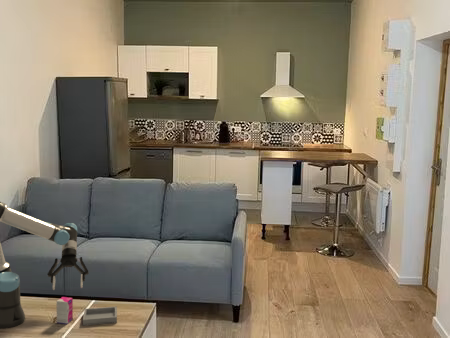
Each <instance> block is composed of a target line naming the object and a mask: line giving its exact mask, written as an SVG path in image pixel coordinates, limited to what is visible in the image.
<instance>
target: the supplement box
mask: <svg viewBox="0 0 450 338" xmlns="http://www.w3.org/2000/svg"><path fill="white" fill-rule="evenodd" d="M73 299H74V298H73V297H67V296H61V298H59V299H57V300H56V324H59V325H68V324H70V322H71V321H73V319H74V318H73V315H74V313H73V312H74V311H73V309H74V308H73V304H74V302H73Z"/></svg>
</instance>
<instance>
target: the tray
mask: <svg viewBox="0 0 450 338" xmlns="http://www.w3.org/2000/svg"><path fill="white" fill-rule="evenodd" d="M83 311H84V312H83V315H82V316H83V317H82V326H85V327H86V326H94V325H95V326H96V325H109V324H117V323H118V305H117V306H105V307H91V308H89V307H88V308H84V310H83Z"/></svg>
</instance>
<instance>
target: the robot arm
mask: <svg viewBox="0 0 450 338" xmlns="http://www.w3.org/2000/svg"><path fill="white" fill-rule="evenodd" d="M0 223H3V224H5V225H7V226H11V227H14V228H17V229H19V230H21V231H24V232H27V233H30V234H32V235H35V236H38V237H40V238H43V239H46V240H48V241H50V242H52V243H53V242H54V243H55V244H57V245H59V246H61V258H60V259H58V258H56V257H55V259H54V263H53V264H52V266H51V267H50V269H49V271H48V272H47V277H48V278H50V283H51V284H52V290H53V291H55V289H56V275H58V273H60V272H61V271H62V270H63V269H64V268H73V267H74V268H75V269H76V270H77V271H78V273H79V274H80V289H83V285H84V284H83V283H84V282H85V281H86V276H87V275H90V274H89V270H88V268H87V266H86V264H85V263H84V261H83V257H82V256H79V257H77V256H78V255H77V249H78V248H77V247H78V226H77V225H76V224H75V223H73V222H71V223H70V222H67V223H65V224H63V225H60V224H57V223H52V222H47V221H43V220H42V219H38V218H35V217H33V216H31V215H29V214H26V213H24V212H21V211H19V210H15V209H14V208H12V207H9V206H8V205H7V203H4V202H2V201H0ZM77 262H78V263H80V265H81V267H82V268H81V267H80V266H79V265H78V264H77ZM59 264H60V265H59ZM58 265H59V266H58ZM57 266H58V267H57ZM25 320H26V314H25V312H24V309H23V307H22V304H21V280H20V275H19V274H17V273H16V272H12V269H11V265H10V263H9V262H7V261H6V258H5V255H4V251H3V246H2V243H1V242H0V329H9V328H14V327H16V326H19V325H21V324H23V323H24V322H25Z"/></svg>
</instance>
